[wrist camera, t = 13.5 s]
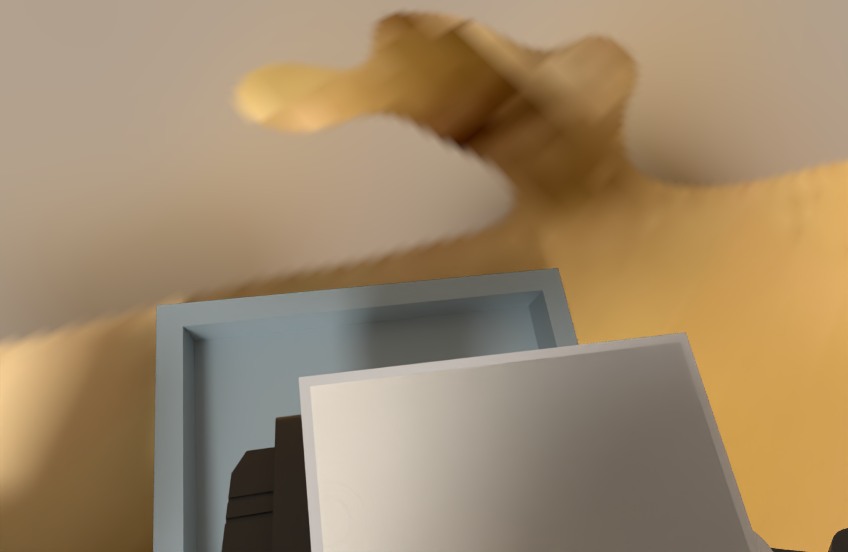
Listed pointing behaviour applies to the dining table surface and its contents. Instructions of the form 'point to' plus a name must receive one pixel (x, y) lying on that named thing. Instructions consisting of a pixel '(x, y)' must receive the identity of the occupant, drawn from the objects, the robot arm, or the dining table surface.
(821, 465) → the dining table surface
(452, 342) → the tray
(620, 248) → the dining table surface
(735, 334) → the dining table surface
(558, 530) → the block
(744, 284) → the dining table surface
